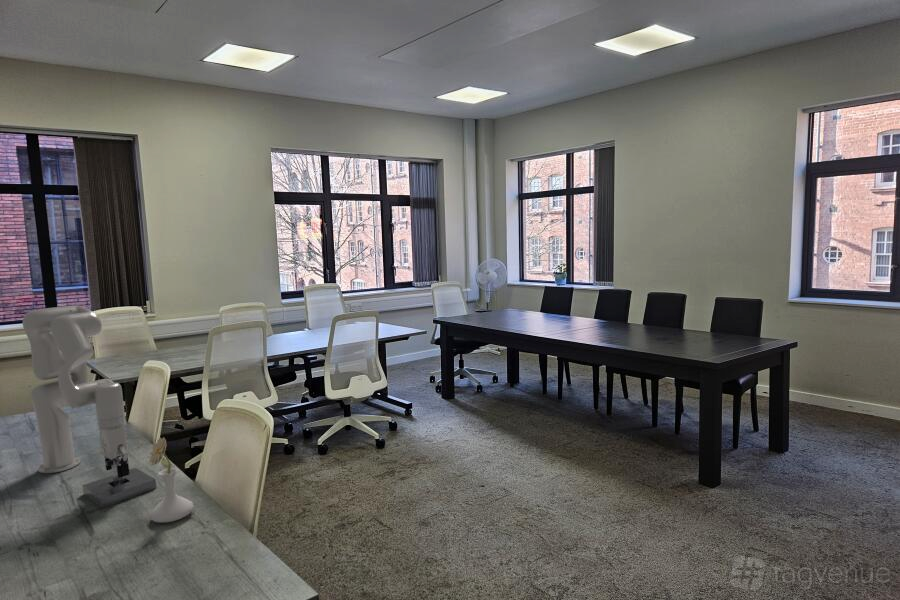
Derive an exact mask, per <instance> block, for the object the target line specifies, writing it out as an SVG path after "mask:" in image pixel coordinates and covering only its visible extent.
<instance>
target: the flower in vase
mask: <svg viewBox="0 0 900 600" xmlns="http://www.w3.org/2000/svg"><path fill="white" fill-rule="evenodd" d="M167 445H168V444H167V440H166V438H165V437H159V438H158V439H157V440H156V442H153V446H152V451H150V453H149V456H150V458H149V463H150V465H151V466H152V467H153V466H155V465H158V464H159V463H161V465H162V466H163V467H165V469H162V470H161V471H159V472H158V476H159V477H160V478H161V479H162V480H163V483H164V487H165V496H164V498H163V499H162V500H161V501H160V502H159V503H158V504H157V505H156V506H155V507H154V508H153V509H152V511H151V512H150V519H151V520H152V521H153V522H155V523H160V524H161V523H171V522H176V521H178V520H182V519H183V518H185V517H186V516H189V515H190V514H191V513H192V511H193V510H194V507H195V505H194V503H193V501H191V500H189V499H187V498H186V497H183V496H180V495H178V494H177V493H176V490H175V477H176V474H177V472H178V471H179V469H178V468H176V467H172V463H171V462H170V459H169V458H168V456H167V455H166V450H167ZM149 463H148V464H149Z"/></svg>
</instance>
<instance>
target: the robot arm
mask: <svg viewBox="0 0 900 600" xmlns="http://www.w3.org/2000/svg"><path fill="white" fill-rule="evenodd" d="M22 327H23V331H24V333H25V334H26V337H27V340H29V344H30V352H31V353H30V354H31V363H32V370H33V374H34V377H35V378H36V379H37V380H40V381H47V380H53V379H57V378H58V379H57V380H53V381H49V382H44V383H41V384H38V385H36V386H35V387H33V388H32V390H31V391H30V395H29V397H30V402H31V404H32V408H33V409H34V414H35V418H36V422H37V430H38V437H39V445H40V451H41V459H42V464H41V465H40V466H39V467H38V469H37V470H38V472H39V473H40V474H53V473H55V474H56V473H60V472H64V471H67V470H70V469H72V468H75V467H76V466H78V465H79V464H80V463H81V458H80V457H78V456H76V455H75V449H74V442H73V440H74V439H73V434H72V428H71V425H72V424H71V418H70V416H69V414H68V413H66V412H65V411H64V410H62V409H61V407H64V406H65V407H66V406H68V407H70V408H71V409H74V410H75V409H76V410H77V409H82V408H86V407H90V406H94V405H95V410H96V419H97V426H98V430H99V445H100V447H99V448H100V454H101V456H102V455H103V456H104V462H105V461H108V460H114V458H115V459H116V461H117V464H118V466H117V473H118V477H119V478H121V477H124V476H127V475H129V470H130V465H129V457H128V456H129V454H128V453H129V452H128V451H129V450H128V442H127V437H126V432H125V427H124V426H125V425H126V424H127V423H126V422H127V421H126V415H125V412H126V411H125V404H124V399H123V398H124V396H123V388H122V385H121V384H120V383H119V382H114V381H113V380H111V379H109V378H102V379H97V380H92V381H89V378H88V365H87V361H88V360H90V359H91V358H92V357H93V355H94V352H95V350H94V348H93V346H92V344H91V342H90V340H89V338H88V337H91V336H92V337H93V336H97V335H99V334H100V333H101V331H102V328H103V327H102V322H101V319H100V318H99V316H98V315H97V313H95V312H94V311H92V310H90V309H88V308H85V307H84V306H82V305H78V304H77V305H76V304H73V305H65V306H56V307H47V308H38V309H35V310H30V311H28V312H26V313H25V314H24V316H23V318H22ZM119 458H121V460H119ZM105 470H106V471H110V470H111V471H112V465H109V466H106V465H105Z"/></svg>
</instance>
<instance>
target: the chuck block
mask: <svg viewBox="0 0 900 600" xmlns="http://www.w3.org/2000/svg"><path fill="white" fill-rule="evenodd" d="M124 481H125V483H124V484H121V485H118V486H116V487H114V481H113V474H112V475H109V476H106V477H103V478H100V479H97V480H95V481H91V482H88V483H86V484H82V492H83V493H82V494H83V495H84V496H85V497H87V498H88V499H89V500H90V501H92V502H94V503H95V504H96V505H97V506H99V507H100V508H101V509H102V508H105V507H108V506H111V505H115V504H116V503H120V502H123V501H126V500H128V499H130V498H132V497H135V496H139V495H140V494H144V493H146V491H147V492H149V491H152V490H155V489H156V488H157V480H156V478H154V477H153V476H151V475H149V474H147V473H146V472H144V471H142V470H140V469H139V468H137V467H134V468H131V469H130V468H129V475H127V476H124ZM154 488H155V489H154Z"/></svg>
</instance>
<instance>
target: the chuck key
mask: <svg viewBox="0 0 900 600" xmlns="http://www.w3.org/2000/svg"><path fill="white" fill-rule="evenodd" d="M119 460H121V458H119ZM104 463H105V465H104V466H105V467H106V466H109V465H112V469H111V471H112V475H113V481H114V487H116V486H118V485H121V484H124V483H125V481H124V477H121V478H119V477H118V473H117V466H118V464H117V461H116V459H115V458H114V460H108V461H105V460H104Z"/></svg>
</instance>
